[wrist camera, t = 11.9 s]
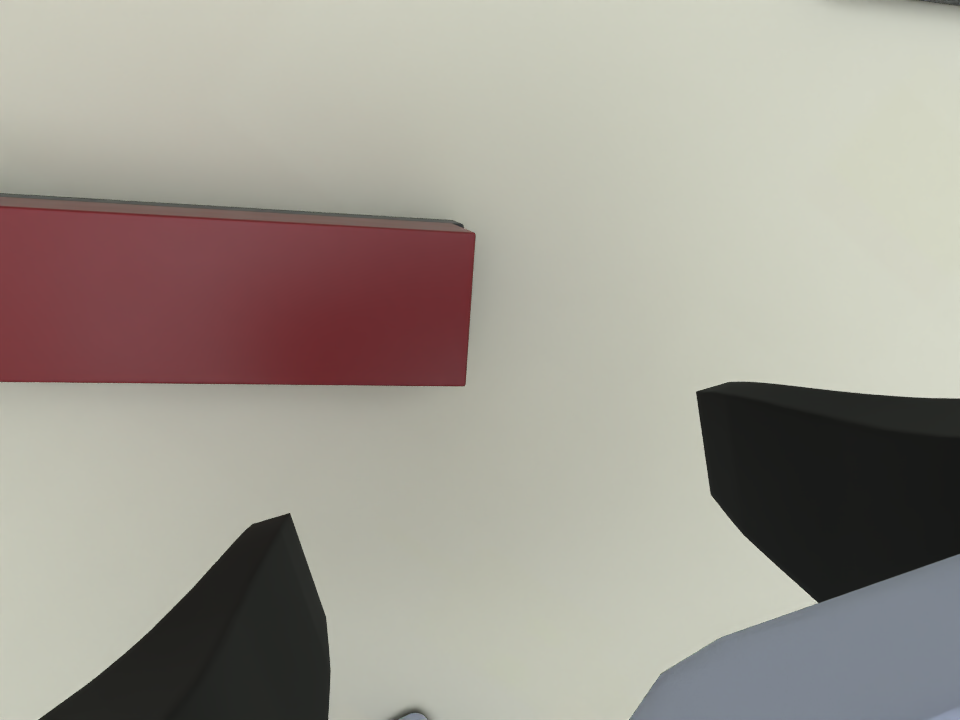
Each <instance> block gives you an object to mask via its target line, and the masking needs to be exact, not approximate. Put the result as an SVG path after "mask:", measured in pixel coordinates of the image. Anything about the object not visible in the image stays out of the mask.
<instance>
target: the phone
mask: <svg viewBox="0 0 960 720" xmlns="http://www.w3.org/2000/svg"><path fill="white" fill-rule="evenodd" d="M921 1H929V2H937V3H946V4H954V5H960V0H921Z"/></svg>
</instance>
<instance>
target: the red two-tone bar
mask: <svg viewBox="0 0 960 720" xmlns="http://www.w3.org/2000/svg"><path fill="white" fill-rule="evenodd" d="M474 250H475V233H474V232H471V231H469V230H467V229H464V226H463V224H461V223H458V222H456V221H453V220H439V219H423V218H406V217H389V216H372V215H356V214H339V213H322V212H305V211H289V210H272V209H255V208H238V207H222V206H205V205H188V204H171V203H155V202H138V201H121V200H105V199H88V198H71V197H54V196H38V195H21V194H4V193H0V382H70V383H172V384H274V385H376V386H465V384H466V370H467V355H468V340H469V325H470V310H471V295H472V280H473V265H474Z"/></svg>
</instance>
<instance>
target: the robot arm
mask: <svg viewBox="0 0 960 720" xmlns="http://www.w3.org/2000/svg"><path fill="white" fill-rule="evenodd" d="M696 394H697V401H698V408H699V415H700V422H701V429H702V436H703V443H704V450H705V457H706V464H707V471H708V478H709V485H710V492H711V495H712V497H713V498H714V499H715V500H716V502H717V503H718V504H719V505H720V507H721V508H722V509H723V511H724V512H725V513H726V514H727V516H728V517H729V518H730V519H731V521H732V522H733V523H734V524H735V525H736V526H737V528H738V529H739V530H740V531H741V532H742V533H743V535H744V536H745V537H747V538H748V539H749V540H750V541H751V542H752V543H753V544H754V545H755V546H756V547H757V548H758V549H759V550H760V551H762V552H763V553H764V554H765V555H766V556H767V557H768V558H769V559H770V560H771V561H772V562H774V563H775V564H776V565H777V566H778V567H779V568H780V569H781V570H782V571H783V572H785V573H786V574H787V575H788V576H789V577H790V578H791V579H792V580H794V581H795V582H796V583H797V584H798V585H799V586H800V587H801V588H802V589H804V590H805V591H806V592H807V593H808V594H809V595H810V596H811V597H812V598H814V599H815V600H816V601H817V602H818V604H815V605H812V606H809V607H806V608H804V609H801V610H798V611H795V612H792V613H789V614H786V615H783V616H781V617H778V618H775V619H772V620H769V621H766V622H763V623H761V624H758V625H755V626H752V627H749V628H746V629H743V630H741V631H738V632H735V633H732V634H729V635H726V636H723V637H721V638H719V639H717V640H715V641H714V642H712V643H710V644H709V645H707V646H705V647H704V648H702V649H700V650H699V651H697V652H696V653H694V654H692V655H691V656H689V657H687V658H686V659H684V660H682V661H681V662H679V663H677V664H676V665H674V666H673V667H671V668H669V669H668V670H666V671H664V672H663V673H662V674H660V676H659V677H658V679H657V680H656V682H655V683H654V684H653V686H652V687H651V689H650V690H649V692H648V693H647V695H646V696H645V698H644V699H643V700H642V702H641V703H640V705H639V706H638V708H637V709H636V711H635V712H634V713H633V715H632V716H631V718H630V719H629V720H960V399H947V398H913V397H898V396H884V395H871V394H860V393H850V392H840V391H831V390H822V389H814V388H805V387H797V386H788V385H779V384H769V383H757V382H727V383H724V384H721V385H717V386H714V387H710V388H707V389H704V390H700V391H697V392H696ZM329 693H330V657H329V644H328V633H327V623H326V616H325V613H324V610H323V607H322V604H321V602H320V599H319V596H318V593H317V590H316V587H315V584H314V581H313V578H312V575H311V573H310V570H309V567H308V564H307V561H306V558H305V555H304V552H303V549H302V547H301V544H300V541H299V538H298V535H297V532H296V529H295V526H294V523H293V521H292V518H291V515H290V513H288V514H285V515H282V516H278V517H275V518H272V519H268V520H265V521H262V522H258V523H255V524H252V525H251V526H250V527H249V528H247V529H246V530H245V531H244V532H243V533H242V534H241V535H240V536H239V537H238V539H237V540H236V541H235V542H234V543H233V544H232V545H231V546H230V547H229V548H228V550H227V551H226V552H225V553H224V554H223V555H222V556H221V557H220V559H219V560H218V561H217V562H216V563H215V564H214V565H213V566H212V567H211V568H210V570H209V571H208V572H207V573H206V574H205V575H204V576H203V577H202V578H201V580H200V581H199V582H198V583H197V584H196V585H195V586H194V587H193V588H192V589H191V590H190V591H189V592H188V593H187V594H186V595H185V596H184V597H183V598H182V599H181V600H180V601H179V602H178V603H177V604H176V605H175V606H174V607H173V609H172V610H171V611H170V612H169V613H168V614H167V615H166V616H165V617H164V618H163V619H162V620H161V621H160V622H159V623H158V624H157V625H156V626H155V627H154V628H153V629H152V630H151V631H149V632H148V633H147V634H146V635H145V636H144V637H143V638H142V639H141V640H140V641H139V642H137V643H136V644H135V645H134V646H133V647H132V648H131V649H130V650H128V651H127V652H126V653H125V654H124V655H123V656H121V657H120V658H119V659H118V660H117V661H115V662H114V663H113V664H112V665H111V666H109V667H108V668H107V669H106V670H105V671H103V672H102V673H101V674H100V675H98V676H97V677H96V678H95V679H93V680H92V681H91V682H90V683H88V684H87V685H86V686H84V687H83V688H82V689H80V690H79V691H77V692H76V693H75V694H73V695H72V696H70V697H69V698H68V699H66V700H65V701H64V702H62V703H61V704H59V705H58V706H57V707H55V708H54V709H52V710H51V711H50V712H48V713H47V714H45V715H44V716H43V717H41V718H40V719H39V720H328V712H329ZM399 720H427V718H426V717H425V716H424V715H422V714H419V713H411V714H409V715H406V716H404V717H403V718H401V719H399Z"/></svg>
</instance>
